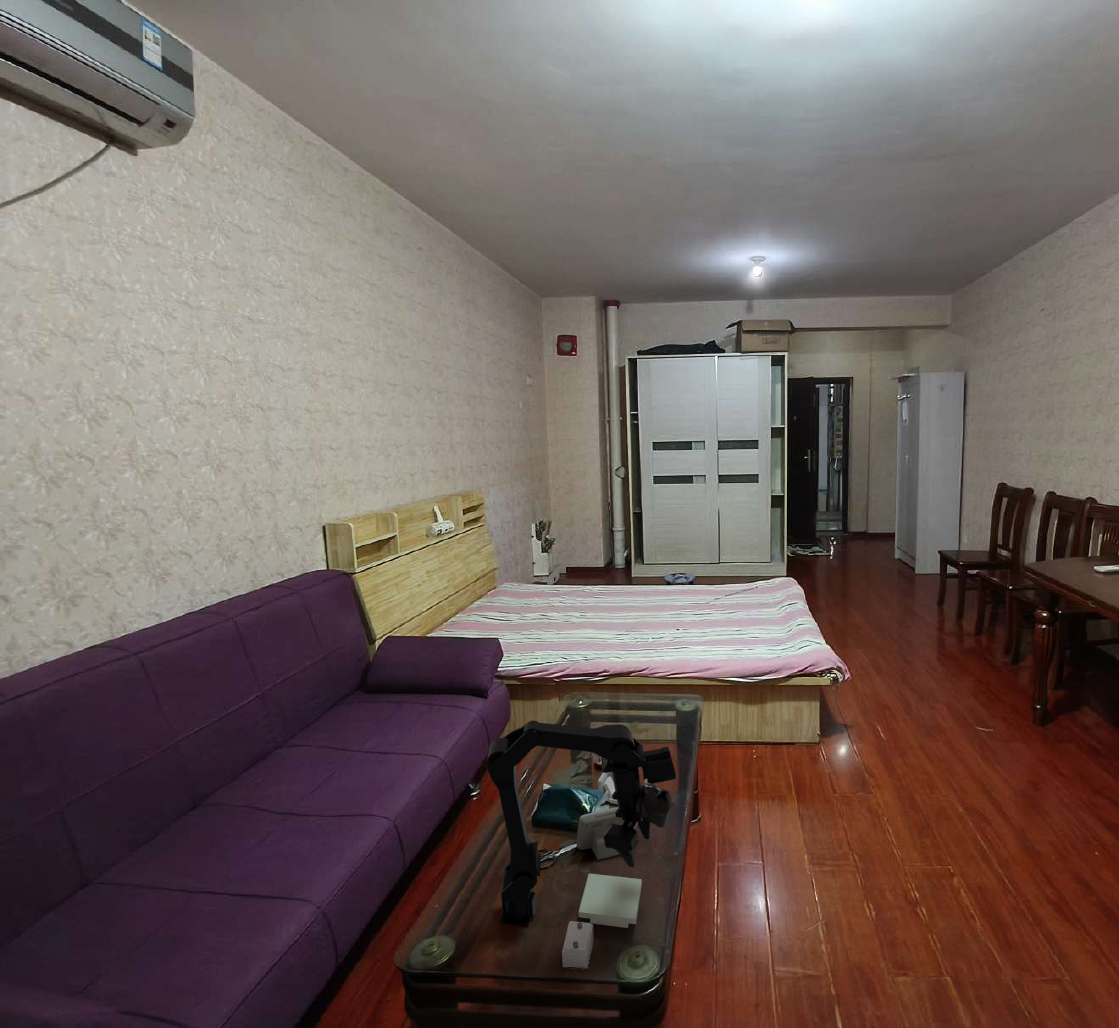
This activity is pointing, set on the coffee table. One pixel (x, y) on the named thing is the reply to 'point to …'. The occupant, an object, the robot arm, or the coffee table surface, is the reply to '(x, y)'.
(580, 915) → the stand
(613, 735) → the robot arm
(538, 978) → the coffee table surface
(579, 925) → the block
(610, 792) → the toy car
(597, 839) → the digital clock
